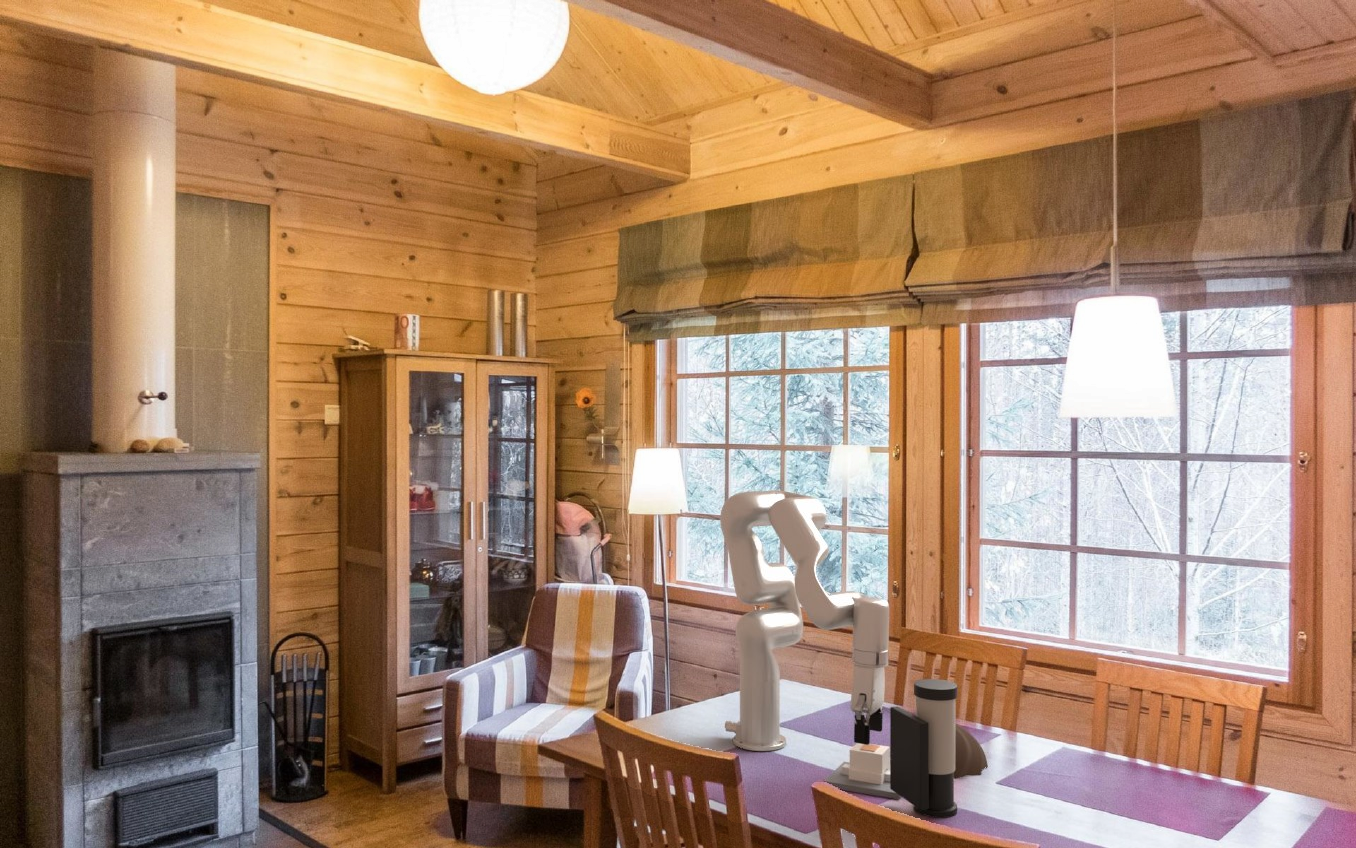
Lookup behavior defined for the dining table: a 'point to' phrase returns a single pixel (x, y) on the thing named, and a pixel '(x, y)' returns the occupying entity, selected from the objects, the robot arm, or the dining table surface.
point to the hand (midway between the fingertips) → (868, 736)
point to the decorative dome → (967, 754)
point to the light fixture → (925, 749)
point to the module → (869, 763)
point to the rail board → (860, 783)
